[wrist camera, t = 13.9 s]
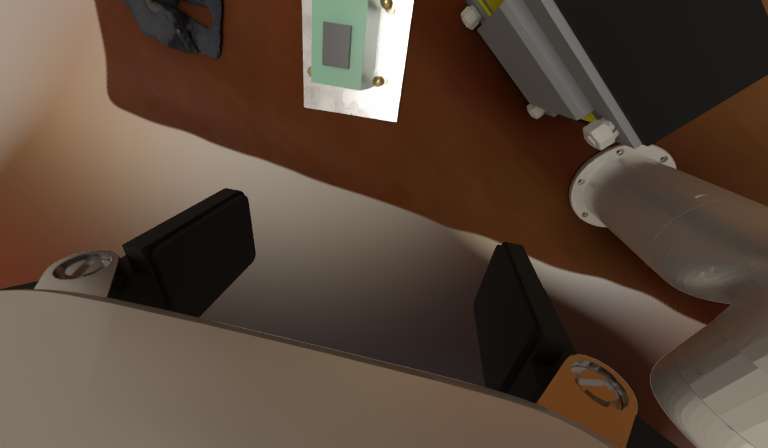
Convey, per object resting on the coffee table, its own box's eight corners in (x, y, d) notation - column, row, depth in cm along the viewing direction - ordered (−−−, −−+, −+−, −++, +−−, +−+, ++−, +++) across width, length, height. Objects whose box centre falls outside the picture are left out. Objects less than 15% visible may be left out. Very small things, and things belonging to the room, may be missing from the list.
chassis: (420, -43, 32) (417, -59, 28) (397, 121, 41) (393, 126, 37) (304, -55, 33) (286, -72, 29) (306, 106, 42) (293, 110, 38)
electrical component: (453, 12, 34) (469, -50, 16) (531, -75, 29) (670, -288, 12) (534, 123, 38) (615, 166, 21) (613, 62, 33) (803, 53, 16)
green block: (382, -5, 33) (368, -23, 27) (372, 87, 38) (359, 91, 32) (334, -11, 34) (309, -31, 27) (331, 80, 39) (309, 82, 32)
